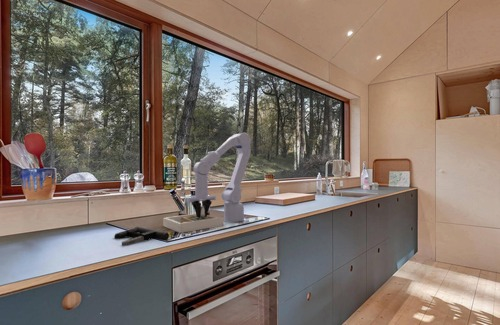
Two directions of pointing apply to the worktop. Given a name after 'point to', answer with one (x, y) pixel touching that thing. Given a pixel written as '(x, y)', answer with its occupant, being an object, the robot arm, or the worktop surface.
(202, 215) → the handle
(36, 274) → the worktop surface
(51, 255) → the worktop surface
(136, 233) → the door handle
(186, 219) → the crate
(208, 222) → the tray
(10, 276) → the worktop surface
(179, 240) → the worktop surface
